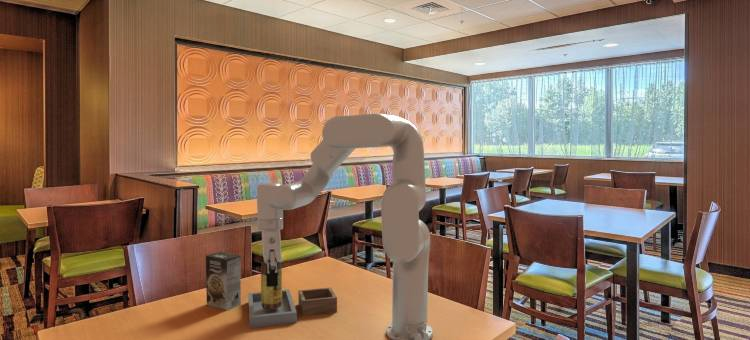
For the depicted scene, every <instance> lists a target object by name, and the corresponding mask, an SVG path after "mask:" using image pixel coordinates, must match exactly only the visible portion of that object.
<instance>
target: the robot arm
mask: <svg viewBox="0 0 750 340" xmlns="http://www.w3.org/2000/svg"><path fill="white" fill-rule="evenodd" d="M321 130H322V131H321V137H322V139H321V141H320V142H319V143H318V144H317V145H316V146H315V148H314V149H313V150H312V151H311V152H310V160H311V162H312V163H311V167H310V168H309V170H307V172H306V173H305V175H304V176H302V178H300V180H299V181H295V182H290V183H285V184H281V183H279V182H263V183H259V184H257V186H256V207H257V208H256V210H257V212H256V213H257V215H256V216H257V219H256V220H257V231H261V245H262V256H263V260H264V261H265V263H266V264H267V273H266V276H267V287H271V286H277V285H278V272H277V262H279V263H280V264H281V263H282V245H281V244H282V241H281V230H283V229H284V211H291V210H294V209H298V208H301V207H304V206H307V205H309V204H311V203H312V202H313V201H314V200H315V199H316V198H317V197H318V195H319V196H320V194H321V193H322V192H323V191H324V189H326V187H327V185H329V182H330V181H331V179H332V177H333V175H334V172H336V170H337V169H338V168H340V166H341V165H342V164H343V163H344V161H345V160H347V159H348V158H349V156H350V155H351V154H352V153H353V152H354V151H355V150H356V149H362V148H363V149H366V148H368V149H369V148H389V147H390V148H391V149H392V151H393V156H392V183H391V184H389V185H388V186H387V187H386V188H385V190H384V191H383V194H382V198H381V204H380V205H381V207H380V208H381V209H380V213H381V214H380V215H381V217H380V218H381V237H382V239H381V240H382V247H383V250H384V253H385V255H386V256H387V257H388V258H389V259H390V260H391V261H393V262H392V288H391V289H392V295H391V296H392V299H391V300H392V302H391V303H392V305H391V306H392V309H391V311H392V312H391V315H392V316H391V317H392V318H391V320H392V321H391V323H390V324H389V325H387V327H386V329H385V330H386V336H387V337H389V339H391V340H431V339H432V337H434V336H433V335H434V334H433V332H434V329H433V328H432V327H431V326H430V325H429V324H428V301H429V300H428V299H429V298H428V297H429V296H428V293H429V292H428V291H429V263H430V262H429V260H430V259H429V258H430V250H431V249H430V248H431V234H430V233H431V232H430V230H429V228H428V226H427V225H426V223H425V222H423V220H421V219H420V215H419V214H420V213H419V212H421V210H422V209H423V208H424V206H425V204H426V201H427V189H426V169H425V166H426V165H425V149H424V142H423V138H422V135H421V134H420V131H419V130H418V128H417V127H416V126H415V125H414V124H413V123H412V122H410V121H409V120H406V119H405V118H402V117H400V116H397V115H393V114H385V113H365V114H353V115H352V114H351V115H337V116H336V115H335V116H333V117H330V118H329V119H328V120H327V121H326V122H325V123H324V125H323V127H322V129H321ZM269 251H270V254H269ZM268 261H270V263H268ZM269 265H270V267H269Z"/></svg>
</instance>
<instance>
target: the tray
mask: <svg viewBox="0 0 750 340" xmlns="http://www.w3.org/2000/svg"><path fill="white" fill-rule="evenodd" d="M247 296H248V301H247V302H248V318H249V329H251V328H253V329H255V328H260V327H270V326H279V325H280V326H281V325H287V324H288V325H289V324H294V323H295V324H296V323H298V314H297V313H298V312H297V309H296V307H295V303H294V300H293V297H292V294H291V291H290V288H289V289H282V304H281V306H280V307H279V308H276V309H271V310H269V309H264V308H262V302H261V291H258V292H248V295H247Z"/></svg>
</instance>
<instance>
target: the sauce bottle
mask: <svg viewBox="0 0 750 340" xmlns="http://www.w3.org/2000/svg"><path fill="white" fill-rule="evenodd" d="M269 254H270V251H269ZM268 263H270V261H268ZM260 266H261V267H260V270H261V271H260V292H261V302H262V308H264V309H269V310H271V309H276V308H279V307H280V306H281V304H282V290H283V266H282V264H281V263H279V262H277V272H278V285H277V286H271V287H267V276H266V273H267V264H266V263H265V261H264V259H263V261H261V265H260ZM269 267H270V265H269Z"/></svg>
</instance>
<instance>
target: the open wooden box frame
mask: <svg viewBox="0 0 750 340" xmlns="http://www.w3.org/2000/svg"><path fill="white" fill-rule="evenodd" d="M298 307H299V310H300V312H301V316H302V317H305V316H313V315H314V316H315V315H321V314H330V313H331V314H332V313H337V312H338V297H337V295H336V294H335V292H334V290H333V289H332V287H323V288H321V287H319V288H313V289H310V288H309V289H302V290H300V289H299V290H298Z"/></svg>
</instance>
